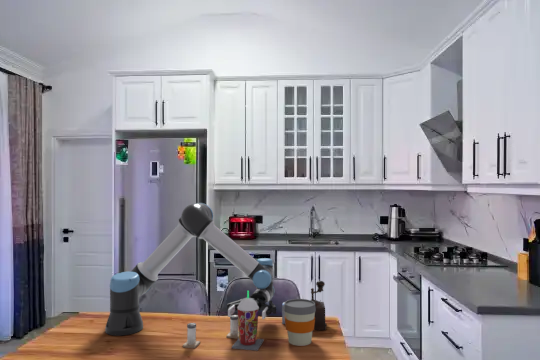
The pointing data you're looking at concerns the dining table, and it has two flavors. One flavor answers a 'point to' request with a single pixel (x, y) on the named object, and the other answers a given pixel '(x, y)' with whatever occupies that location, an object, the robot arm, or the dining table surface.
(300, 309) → the reusable coffee cup
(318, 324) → the pepper mill
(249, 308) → the smoothie
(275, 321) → the dining table surface
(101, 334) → the dining table surface
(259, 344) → the mat
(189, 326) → the post near
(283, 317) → the medicine box
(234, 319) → the post far
